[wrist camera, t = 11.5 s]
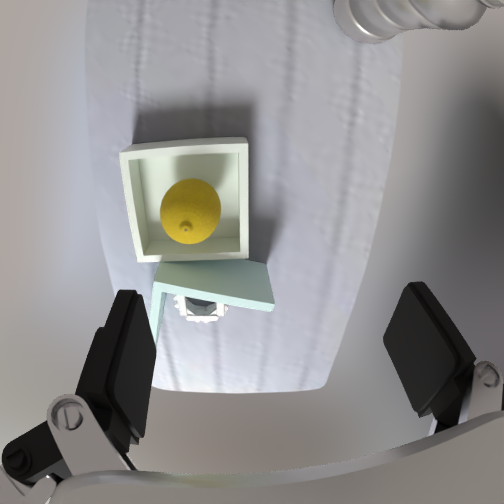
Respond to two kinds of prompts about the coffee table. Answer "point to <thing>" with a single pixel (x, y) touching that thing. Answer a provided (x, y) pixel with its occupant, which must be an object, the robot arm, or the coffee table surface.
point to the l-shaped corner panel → (210, 288)
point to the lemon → (190, 211)
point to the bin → (179, 168)
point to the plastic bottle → (406, 16)
